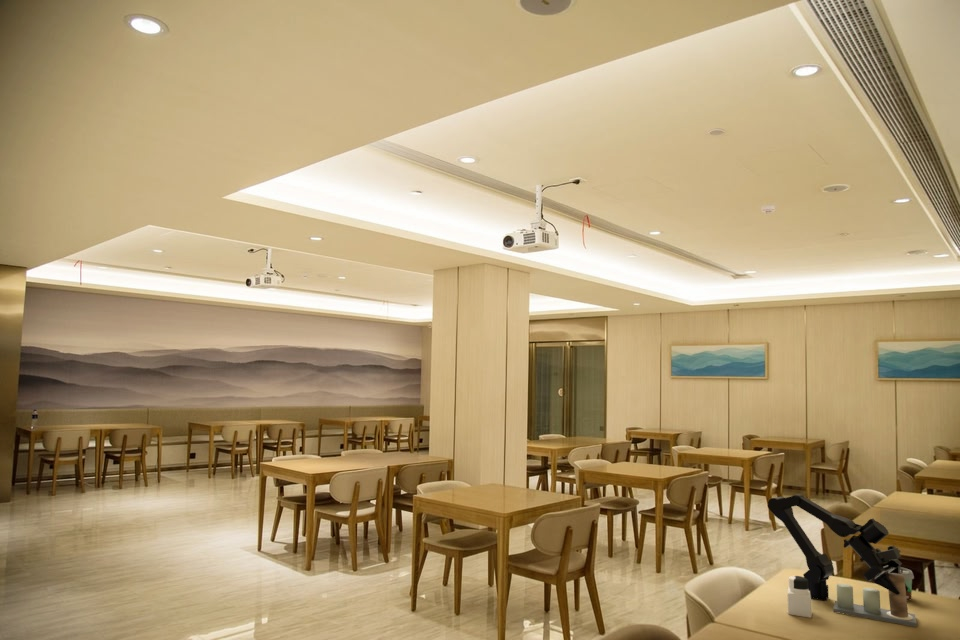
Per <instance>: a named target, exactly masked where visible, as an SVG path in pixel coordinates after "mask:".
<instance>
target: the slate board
mask: <svg viewBox="0 0 960 640" xmlns="http://www.w3.org/2000/svg"><path fill="white" fill-rule="evenodd" d="M832 608H833V613H835V612H840V613H839V614H841V613H844V614H843V615H847V614H848V615H849V616H852V615H853V617H857V618H864V617H865V619H869V618H870V620H876V621H880V622H881V621H882V622H886V623H887V622H888V623H892V624H898V625H903V626H909V627H914V626H915V627H916V628H917V627H918V623H917V619H916V614H915V613H910V612H908V617H897V616H893V615H891V611H890V609H888V608H887V609H885V608H881V607H880V610H881V613H879V614H874V613H869V612H866V611H864V606H863V604H862V605H861V604H856V603H854V608H853V609H845V608H841V607H839V606H837V600H834V603H833V607H832ZM915 627H914V628H915Z"/></svg>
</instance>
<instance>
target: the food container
mask: <svg viewBox="0 0 960 640" xmlns="http://www.w3.org/2000/svg"><path fill="white" fill-rule="evenodd" d="M900 574H902V575H904V579H905V583H906V585H907V587H908V590H907V591H906V598H907V600H908V601H911V600H912V589H913V588H912V585H913V580H914V579H915V576H914V572H913V571H912V570H911V569H908V568H906V567H902V566H901V568H900ZM910 599H911V600H910Z"/></svg>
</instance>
